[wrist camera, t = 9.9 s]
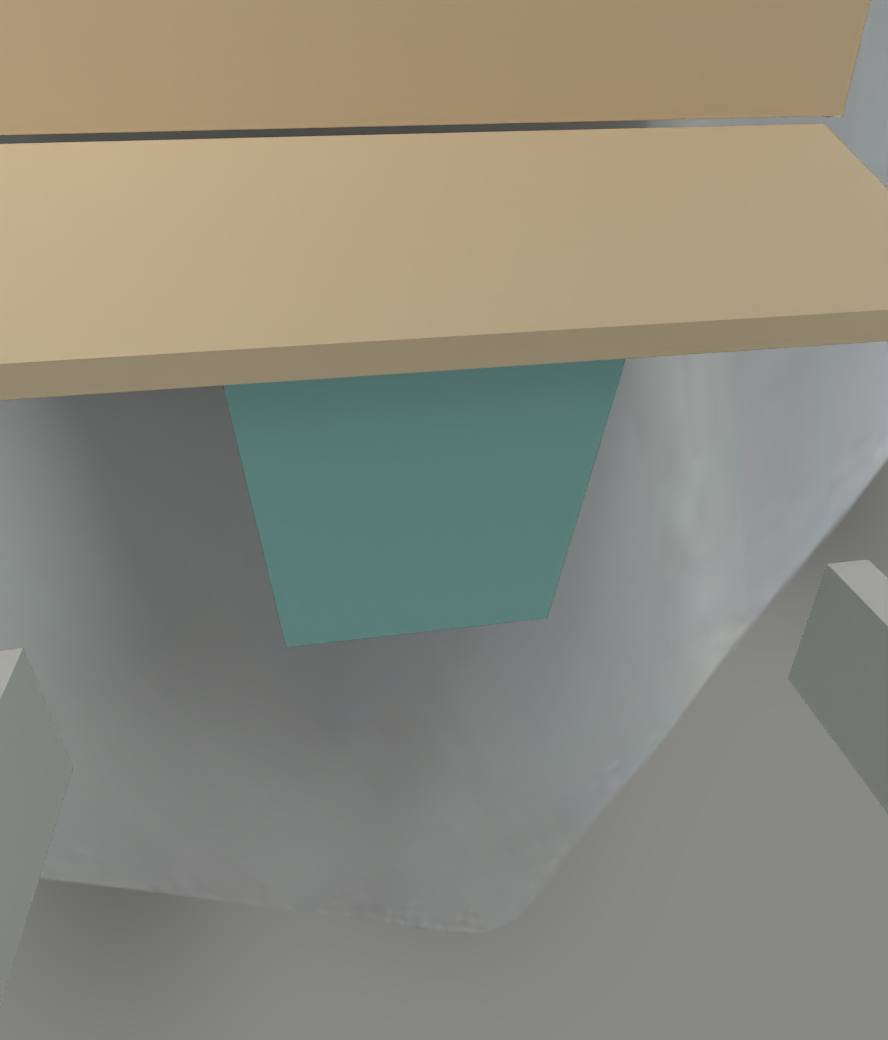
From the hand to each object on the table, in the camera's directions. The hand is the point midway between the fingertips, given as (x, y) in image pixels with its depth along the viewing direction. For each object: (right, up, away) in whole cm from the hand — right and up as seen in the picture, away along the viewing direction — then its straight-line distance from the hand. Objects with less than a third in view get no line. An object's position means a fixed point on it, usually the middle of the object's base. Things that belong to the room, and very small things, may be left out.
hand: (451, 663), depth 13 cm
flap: (-1, +7, -1) cm, 7 cm away
